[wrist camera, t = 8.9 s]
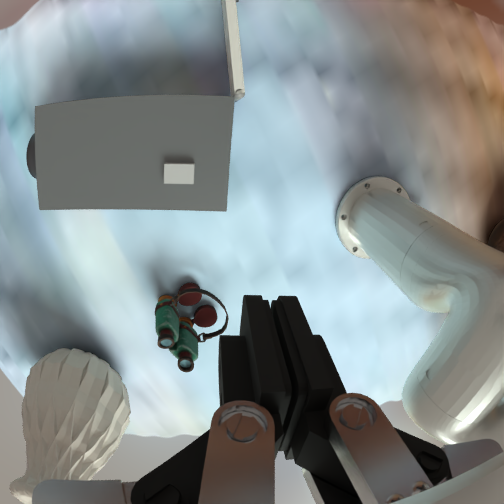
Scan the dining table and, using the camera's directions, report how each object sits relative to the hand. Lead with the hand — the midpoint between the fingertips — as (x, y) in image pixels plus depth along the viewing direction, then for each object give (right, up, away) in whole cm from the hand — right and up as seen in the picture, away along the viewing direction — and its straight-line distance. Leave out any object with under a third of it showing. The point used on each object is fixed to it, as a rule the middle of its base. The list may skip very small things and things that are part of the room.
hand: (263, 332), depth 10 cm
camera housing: (-16, +16, +26) cm, 34 cm away
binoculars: (-9, -5, +37) cm, 38 cm away
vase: (-32, -20, +41) cm, 55 cm away
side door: (-3, +27, +22) cm, 35 cm away
